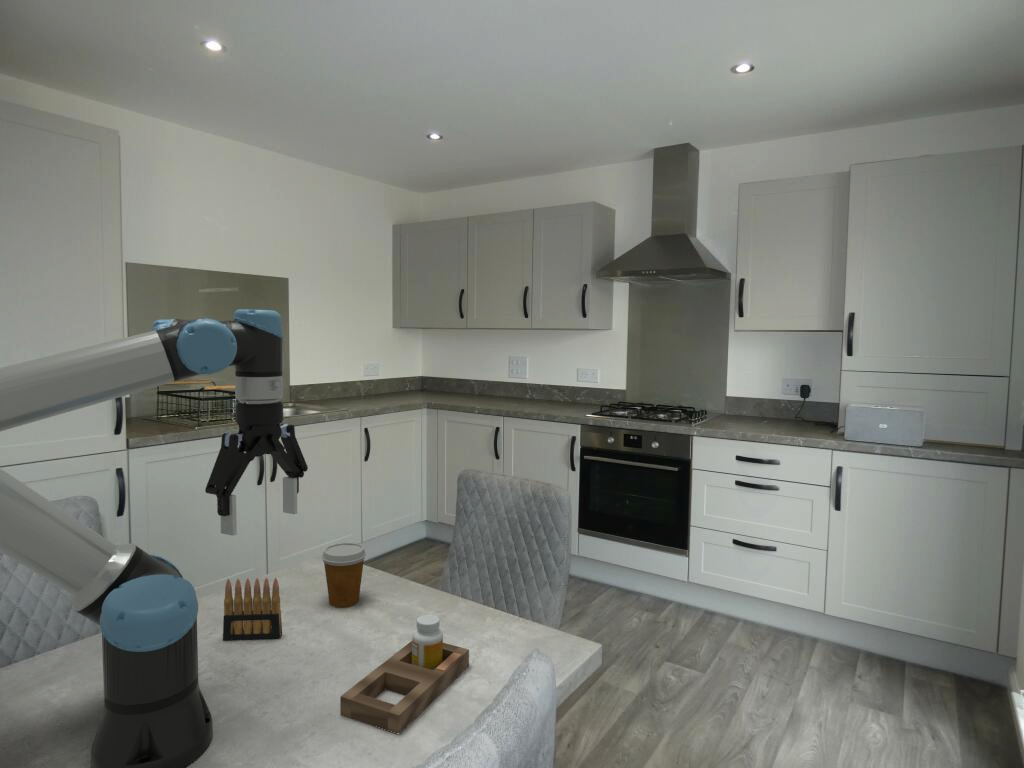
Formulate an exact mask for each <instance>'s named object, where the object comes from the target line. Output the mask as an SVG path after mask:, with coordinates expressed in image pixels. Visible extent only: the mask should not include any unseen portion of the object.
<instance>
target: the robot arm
mask: <svg viewBox="0 0 1024 768" xmlns="http://www.w3.org/2000/svg"><path fill="white" fill-rule="evenodd" d="M233 315H234V316H233V318H232V320H224V321H223V320H216V319H213V318H206V317H204V318H199V319H179V318H171V319H156V320H155V321H154V322H153V323H152V325H151V331H147V332H143V333H139V334H136V335H135V334H133V335H131V336H127V337H122V338H118V339H115V340H111V341H106V342H101V343H97V344H93V345H89V346H85V347H80V348H77V349H71V350H69V351H64V352H61V353H55V354H53V355H48V356H43V357H39V358H34V359H31V360H27V361H23V362H18V363H14V364H10V365H6V366H2V367H0V432H4V431H7V430H11V429H14V428H17V427H21V426H23V425H27V424H31V423H34V422H39V421H41V420H45V419H48V418H52V417H56V416H59V415H62V414H66V413H69V412H70V413H71V412H74V411H77V410H80V409H83V408H88V407H90V406H94V405H98V404H100V403H105V402H107V401H111V400H114V399H118V398H122V397H125V396H128V395H132V394H136V393H139V392H142V391H146V390H150V389H152V388H156V387H160V386H163V385H167V384H170V383H173V382H177V381H182V380H186V379H189V378H193V377H196V376H201V375H208V376H209V375H212V374H213V375H215V374H217V373H220V372H221V371H224V370H226V369H227V368H228V367H234V370H235V371H234V373H235V376H234V379H235V380H234V384H235V385H234V386H235V388H234V389H235V391H234V392H235V396H234V397H235V399H236V400H238V402H236V403H235V422H236V424H237V425H238V432H237V434H235V433H227V432H224V433H223V434H222V435H221V441H220V444H221V445H220V449H219V452H218V453H217V454H218V455H217V457H216V459H215V462H214V465H213V468H212V471H211V473H210V476H209V477H208V478H209V479H208V481H207V483H206V486H205V490H204V492H205V493H206V494H209V495H214V496H216V501H217V505H216V507H217V509H216V510H217V511H216V512H217V514H218V516H220V534H223V535H227V536H233V537H234V536H236V535H237V534H238V533H237V495H235V494H233V492H234V491H235V488H236V487H237V485H238V483H239V482H240V480H241V478H242V476H243V475H244V473H245V472H246V470H247V468H248V466H249V465H250V463H251V462H252V461H254V459H255V458H256V457H257V458H258V457H261V456H263V455H264V456H265V455H271V457H272V458H273V459H274V461H275V463H277V465H278V466H279V467H280V469H282V471H283V472H284V473H285V475H286V476H284V477H282V513H284V514H289V515H296V514H298V494H299V492H300V481H299V480H300V479H301V478H303V477H304V476H305V472H308V468H309V467H308V465H307V461H306V459H305V456H304V454H303V452H302V449H301V447H300V445H299V442H298V440H297V437H296V429H295V425H294V424H288V423H283V421H284V403H283V402H282V401H281V399H282V398H283V397H284V393H283V392H284V391H283V387H284V386H283V385H284V384H283V381H284V380H283V348H284V347H283V345H284V344H283V343H284V341H283V340H284V336H283V324H282V323H283V322H282V316H281V314H280V313H279V312H277V311H276V310H271V309H270V310H269V309H246V308H245V309H244V308H243V309H242V308H240V309H237V310H235V311H234V314H233ZM280 440H281V441H280ZM0 553H2V554H3V555H5V556H7V557H8V558H10V559H12V560H13V561H14V562H17V563H18V564H20V565H22V566H24V567H25V568H27V569H29V570H30V571H31V572H33V573H35V574H37V575H38V576H40V577H42V578H43V579H45V580H47V581H48V582H50V583H52V584H53V585H55V586H57V587H58V588H60V589H62V590H63V591H65V592H66V593H68V594H70V596H71V604H72V605H71V607H72V610H73V611H74V612H77V614H80V615H82V616H83V617H85V618H87V619H88V620H89V621H91V622H93V623H95V624H97V626H99V628H100V631H101V641H102V642H101V643H102V649H101V650H102V671H103V678H102V679H103V699H104V704H103V705H104V708H103V711H102V715H101V718H100V721H99V723H98V726H97V727H98V728H97V731H96V734H95V738H94V740H93V741H92V744H91V748H90V749H91V750H90V767H91V768H185V767H187V766H188V765H190V764H192V763H193V762H194V761H195V760H196V759H198V758H199V757H200V756H201V755H202V754H204V752H205V751H206V750H207V749H208V747H209V746H210V744H211V741H212V739H213V736H214V735H213V733H214V731H213V725H214V724H213V715H212V714H211V711H210V709H209V705H208V704H207V702H206V699H205V698H204V695H203V693H202V690H201V688H200V684H199V656H198V653H199V652H198V651H199V649H198V614H199V602H198V601H199V600H198V597H197V592H196V589H195V587H194V585H193V584H192V583H191V582H190V581H188V580H187V579H185V578H184V576H183V575H182V572H180V569H179V568H178V567H177V566H176V565H175V564H174V563H172V562H171V561H170V560H169V559H166V558H164V557H163V556H159V555H155V554H150V553H148V552H146V551H144V550H143V549H141V548H140V547H139V546H137V544H134V543H125V544H120V545H119V544H118V545H117V544H115V543H113V542H112V541H110V540H109V539H107V538H106V537H104V536H103V535H101V534H100V533H98V532H96V531H95V530H94V529H92V528H91V527H89V526H87V524H85V523H83V522H81V521H80V520H78V518H75V517H74V516H73V515H71V514H69V513H68V512H66V511H65V510H63V508H61V507H60V506H57V505H56V504H54V503H53V502H52V501H50V500H48V498H45V497H44V496H42V495H41V494H39V493H38V492H37V491H35V490H34V489H32V488H31V487H29V486H27V484H25V483H23V482H22V481H20V480H19V479H17V478H16V477H14V476H13V475H11V474H9V473H8V472H7V471H6V470H4V469H2V468H1V467H0Z"/></svg>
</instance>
